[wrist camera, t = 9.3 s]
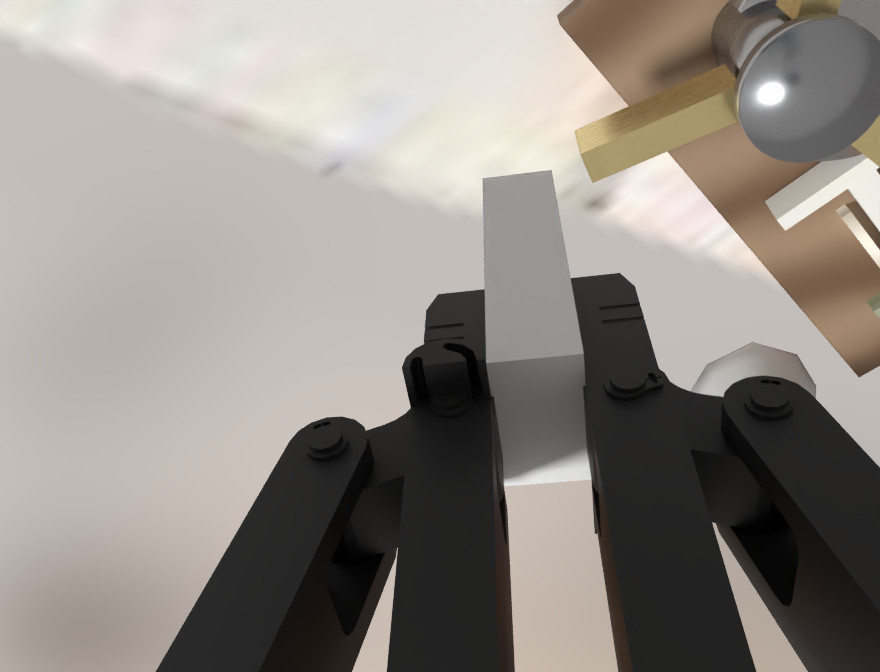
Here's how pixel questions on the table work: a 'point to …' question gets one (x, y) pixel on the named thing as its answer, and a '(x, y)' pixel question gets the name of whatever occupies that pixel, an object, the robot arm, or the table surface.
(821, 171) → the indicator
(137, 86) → the table surface
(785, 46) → the cam capstan
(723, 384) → the flask
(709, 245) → the table surface
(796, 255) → the board
